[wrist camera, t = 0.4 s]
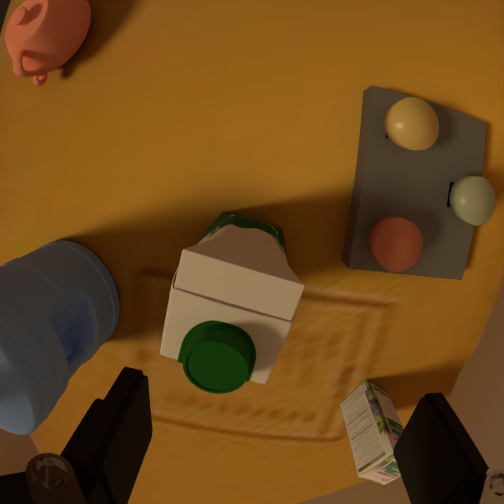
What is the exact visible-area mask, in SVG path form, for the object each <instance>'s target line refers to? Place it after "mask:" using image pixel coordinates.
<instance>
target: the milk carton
mask: <svg viewBox="0 0 504 504" xmlns="http://www.w3.org/2000/svg"><path fill="white" fill-rule="evenodd" d="M304 287H305V285H304V284H303V282H302V281H301V280H300V279H299V278H298V277H297V276H296V274H295V273H294V272H293V271H292V270H291V269H290V268H289V266H288V262H287V258H286V251H285V245H284V239H283V232H282V229H280V228H277V227H275V226H272V225H269V224H267V223H263V222H260V221H257V220H253V219H250V218H247V217H243V216H240V215H236V214H231V213H227V212H222V213H221V215H220V216H219V217H218V218H217V220H216V221H215V222H214V223H213V225H212V226H211V227H210V228H209V229H208V231H207V232H206V233H205V234H204V236H203V237H202V238H201V239H200V240H199V241H198V243H197V244H196V245H194V246H191V247H188V248H185V249H183V250H182V254H181V258H180V263H179V267H178V268H177V270H176V272H175V274H174V277H173V281H172V285H171V290H170V295H169V302H168V307H167V313H166V318H165V323H164V329H163V336H162V343H161V350H160V354H161V355H163V356H166V357H169V358H173V359H177V360H178V362H180V363H183V369H184V372H185V375H186V376H187V378H188V379H189V381H190V382H191V383H192V384H194V385H195V386H196V387H198V388H200V389H201V390H204V391H207V392H210V393H217V394H222V393H229V392H232V391H234V390H236V389H238V388H239V387H241V386H242V385H243V384H244V382H245V381H247V382H248V381H249V380H250V381H254V382H257V383H262V384H266V383H267V381H268V378H269V376H270V374H271V372H272V369H273V367H274V365H275V363H276V360H277V358H278V356H279V353H280V351H281V349H282V346H283V344H284V341H285V339H286V338H287V336H288V334H289V331H290V329H291V326H292V323H293V321H294V318H295V314H296V309H297V306H298V303H299V301H300V298H301V295H302V293H303V290H304Z"/></svg>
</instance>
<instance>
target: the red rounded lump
mask: <svg viewBox="0 0 504 504" xmlns="http://www.w3.org/2000/svg"><path fill="white" fill-rule="evenodd" d="M368 247H369V251H370V253H371V255H372V257H373V258H374V259H375V260H376V261H377V262H378V263H379V264H381V265H382V266H383V267H384V268H385V269H387V270H389V271H392V272H401V271H405V270H407V269H409V268H410V267H412V266H413V265H414V264H415V263H416V261H417V260H418V258H419V257H420V254H421V251H422V247H423V240H422V235H421V232H420V230H419V229H418V227H417V226H416V225H415V224H414V223H412V222H410V221H408V220H406V219H403V218H401V217H398V216H386V217H383V218H381V219H380V220H378V221H377V222H376V223H375V224H374V226H373V227H372V229H371V231H370V233H369V237H368Z"/></svg>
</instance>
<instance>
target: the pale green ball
mask: <svg viewBox="0 0 504 504" xmlns="http://www.w3.org/2000/svg"><path fill="white" fill-rule="evenodd" d="M450 206H451V209H452V212H453V213H454V215H455V216H456V217H457V218H458V219H459V220H461V221H464V222H467V223H470V224H473V225H477V226H479V225H483V224H485V223H486V222H487V221H488V220H489V219H490V218H491V216H492V214H493V212H494V208H495V193H494V189H493V187H492V185H491V184H490V182H489V181H488V180H487V179H485V178H483V177H478V176H470V175H464V176H461V177H459V178H458V179H457V180H456V181H455V182H454V184H453V186H452V188H451V192H450Z"/></svg>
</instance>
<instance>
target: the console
mask: <svg viewBox="0 0 504 504" xmlns="http://www.w3.org/2000/svg"><path fill="white" fill-rule="evenodd" d="M408 97H413V96H409V95H406V94H403V93H399V92H395V91H392V90H388V89H384V88H380V87H376V86H370V87H369V88H367V89H366V90H364V92H363V106H362V118H361V129H360V139H359V148H358V157H357V166H356V174H355V182H354V189H353V196H352V203H351V210H350V216H349V223H348V229H347V235H346V241H345V246H344V252H343V258H342V261H343V262H344V263H345V265H346V266H347V267H348V268H352V269H361V270H371V271H380V272H390V273H399V274H409V275H418V276H428V277H438V278H447V279H457V280H462V278H463V274H464V270H465V266H466V262H467V258H468V254H469V250H470V245H471V241H472V236H473V231H474V226H475V225H473V224H470V223H467V222H464V221H461V220H459V219H458V218H457V217H456V216H455V215H454V213H453V212H452V209H451V207H449V206H447V200H448V194H449V187H450V183H454V182H455V181H456V180H457V179H458V178H459V177H461V176H464V175H470V176H478V177H482V173H483V163H484V152H485V137H486V123H485V122H482V121H480V120H478V119H475V118H473V117H470V116H468V115H465V114H462V113H460V112H457V111H455V110H452V109H449V108H446V107H443V106H441V105H438V104H435V103H432V102H429V101H426V100H424V101H425V102H427V103H428V104H429V105H430V106H431V107H432V108H433V110H434V111H435V113H436V115H437V118H438V122H439V134H438V137H437V140H436V141H435V143H434V144H433V145H432V146H431V147H429V148H427V149H425V150H414V151H407V150H402V149H400V148H398V147H397V146H395V145H394V144H393V143H392V142H391V141H390V139H388V138H385V137H386V132H385V128H384V116H385V113H386V111H387V109H388V108H389V107H390V106H391V105H392V104H394V103H396V102H398V101H400V100H403V99H405V98H408ZM386 216H398V217H401V218H403V219H406V220H408V221H410V222H412V223H414V224H415V225H416V226H417V227H418V229H419V230H420V232H421V235H422V240H423V247H422V251H421V254H420V257H419V258H418V260H417V261H416V263H415V264H414V265H413V266H412V267H410V268H409V269H407V270H405V271H401V272H392V271H389V270H387V269H385V268H384V267H383V266H382V265H381V264H379V263H378V262H377V261H376V260H375V259H374V258H373V257H372V255H371V253H370V251H369V247H368V237H369V233H370V231H371V229H372V227H373V226H374V221H378V220H380V219H381V218H383V217H386Z"/></svg>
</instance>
